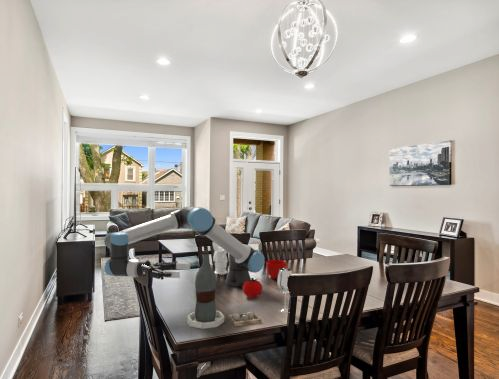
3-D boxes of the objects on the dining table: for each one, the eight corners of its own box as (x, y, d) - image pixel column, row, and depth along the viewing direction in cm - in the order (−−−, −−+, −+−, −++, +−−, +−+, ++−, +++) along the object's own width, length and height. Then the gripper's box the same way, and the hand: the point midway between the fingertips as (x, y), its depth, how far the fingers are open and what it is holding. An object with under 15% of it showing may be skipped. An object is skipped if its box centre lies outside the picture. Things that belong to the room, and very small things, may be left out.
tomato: (239, 295, 182) (240, 276, 182) (257, 293, 186) (257, 275, 186) (246, 301, 172) (247, 282, 172) (265, 299, 176) (265, 280, 176)
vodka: (197, 316, 150) (197, 249, 150) (217, 316, 150) (217, 249, 150) (192, 324, 141) (193, 253, 140) (214, 325, 141) (215, 253, 140)
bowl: (217, 313, 155) (218, 308, 155) (227, 326, 141) (227, 320, 141) (185, 317, 150) (185, 311, 150) (191, 331, 136) (191, 325, 136)
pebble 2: (246, 319, 147) (247, 313, 147) (249, 322, 144) (249, 315, 144) (240, 320, 146) (240, 313, 146) (242, 323, 143) (242, 316, 143)
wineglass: (275, 308, 162) (275, 267, 162) (291, 308, 163) (291, 267, 163) (277, 315, 155) (278, 271, 154) (294, 314, 155) (295, 271, 155)
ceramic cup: (280, 283, 206) (281, 266, 205) (261, 277, 218) (262, 261, 218) (294, 279, 214) (295, 263, 214) (275, 273, 227) (276, 259, 227)
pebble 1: (238, 318, 148) (238, 311, 148) (241, 321, 146) (241, 314, 145) (232, 319, 147) (232, 312, 147) (234, 322, 144) (234, 315, 144)
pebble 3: (252, 317, 150) (252, 310, 150) (254, 319, 148) (254, 312, 147) (245, 317, 149) (245, 311, 149) (248, 320, 146) (248, 313, 146)
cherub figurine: (226, 271, 232) (227, 239, 232) (232, 275, 221) (233, 242, 221) (209, 272, 228) (210, 239, 228) (214, 277, 216) (215, 242, 216)
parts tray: (253, 316, 153) (253, 311, 153) (261, 324, 144) (261, 319, 144) (228, 319, 148) (228, 315, 148) (234, 327, 140) (234, 323, 140)
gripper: (151, 269, 164) (193, 271, 160) (125, 285, 139) (174, 287, 136) (151, 254, 164) (193, 255, 160) (125, 267, 139) (174, 269, 136)
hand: (185, 270), depth 148 cm, fingers open, 13 cm apart
